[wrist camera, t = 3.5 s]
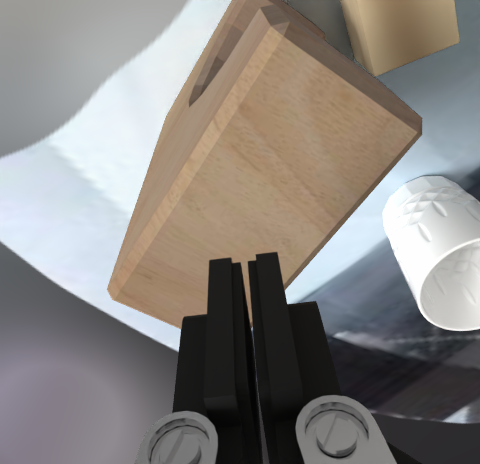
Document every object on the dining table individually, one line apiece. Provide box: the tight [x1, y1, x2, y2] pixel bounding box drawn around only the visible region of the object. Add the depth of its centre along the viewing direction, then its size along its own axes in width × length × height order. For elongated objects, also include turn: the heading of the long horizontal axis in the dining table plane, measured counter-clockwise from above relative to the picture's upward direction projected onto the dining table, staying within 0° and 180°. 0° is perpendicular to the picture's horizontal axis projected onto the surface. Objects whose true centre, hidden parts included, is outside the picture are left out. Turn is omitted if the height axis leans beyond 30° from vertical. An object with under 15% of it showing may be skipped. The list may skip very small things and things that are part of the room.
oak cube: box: [340, 0, 460, 77], centre depth 27 cm, size 5×5×5 cm
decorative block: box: [107, 0, 422, 329], centre depth 23 cm, size 11×6×20 cm, turn 146°
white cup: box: [383, 176, 480, 331], centre depth 33 cm, size 8×8×10 cm
